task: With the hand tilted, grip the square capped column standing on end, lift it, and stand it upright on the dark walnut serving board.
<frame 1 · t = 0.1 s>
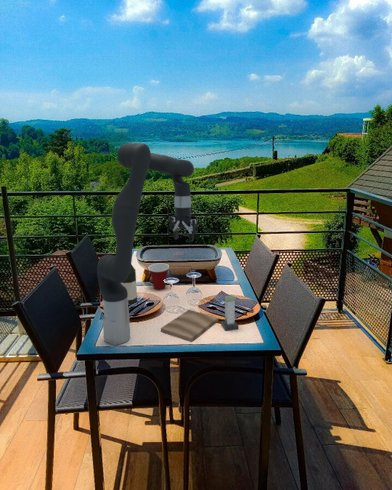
hand: (183, 240, 169), 29 cm above the table, tool pointing down, fingers open, 8 cm apart
square capped column: (229, 326, 149), on the table
plastic cup: (159, 288, 190), on the table
serving board: (190, 326, 150), on the table
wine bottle: (129, 305, 171), on the table
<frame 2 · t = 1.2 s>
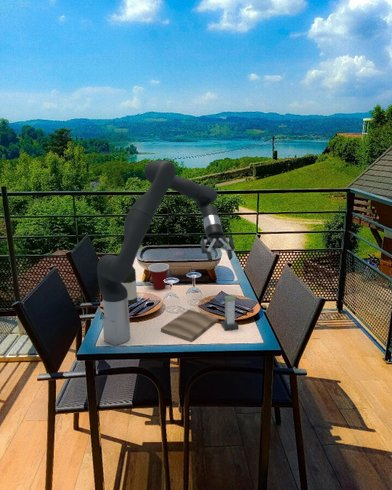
hand: (221, 260, 153), 25 cm above the table, tool tilted 45°, fingers open, 8 cm apart
nothing on the table moved.
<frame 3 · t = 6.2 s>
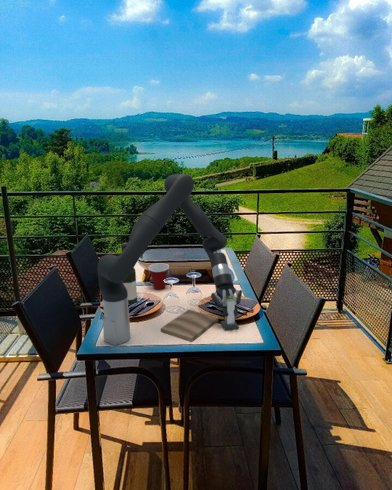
hand: (231, 315, 145), 6 cm above the table, tool tilted 45°, fingers closed on square capped column, 3 cm apart
square capped column: (229, 326, 149), on the table, touching gripper
everything else where it was.
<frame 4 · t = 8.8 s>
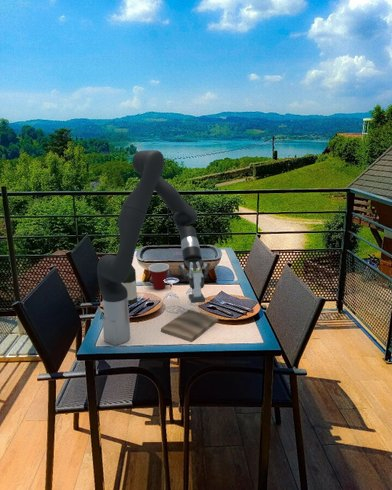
hand: (197, 287, 143), 18 cm above the table, tool tilted 45°, fingers closed on square capped column, 3 cm apart
square capped column: (196, 299, 147), point 12 cm above the table, touching gripper
everything else where it was.
when the fingers open (9 cm above the table, at t = 11.5 s): square capped column drops 1 cm, resting on serving board.
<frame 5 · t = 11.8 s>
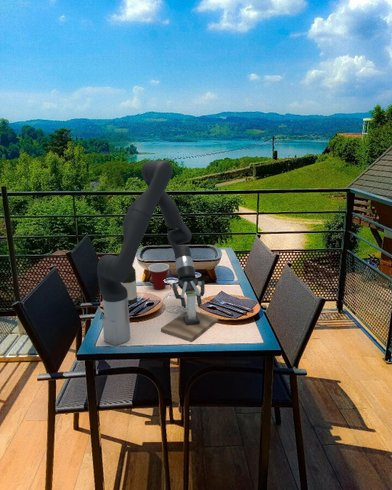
hand: (192, 306, 146), 9 cm above the table, tool tilted 45°, fingers open, 5 cm apart
square capped column: (191, 321, 150), point 1 cm above the table, touching serving board
everything else where it was.
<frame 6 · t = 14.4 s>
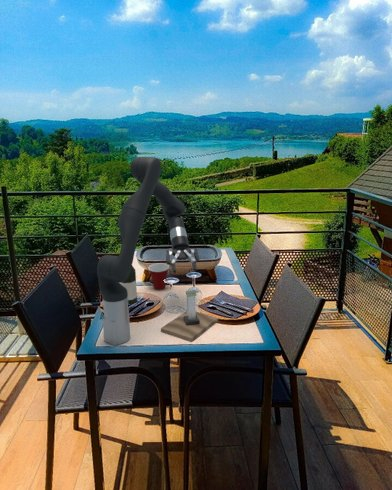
hand: (184, 271, 156), 20 cm above the table, tool tilted 45°, fingers open, 8 cm apart
nothing on the table moved.
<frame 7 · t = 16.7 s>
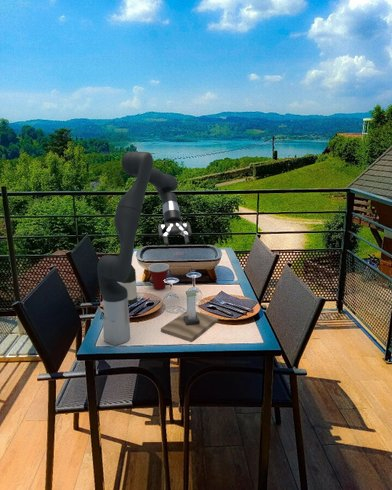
hand: (177, 244, 157), 31 cm above the table, tool tilted 45°, fingers open, 8 cm apart
nothing on the table moved.
at the end: square capped column inside the target area on the serving board (0.1 cm from its centre), point 1.5 cm above the serving board's base; square capped column tilted 0°; the gripper is holding nothing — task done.
